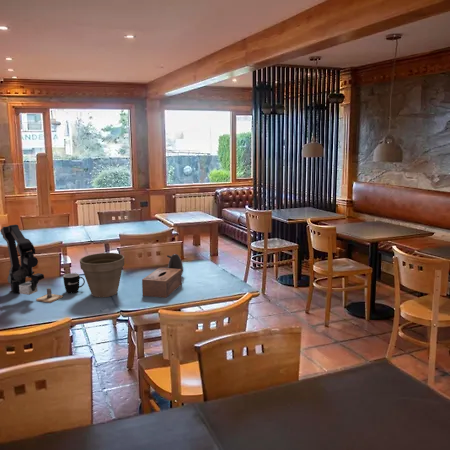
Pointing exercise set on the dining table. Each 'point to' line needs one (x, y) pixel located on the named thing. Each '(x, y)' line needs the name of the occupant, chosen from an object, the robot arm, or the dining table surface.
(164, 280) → the tissue box cover
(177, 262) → the pump dispenser
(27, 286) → the collar
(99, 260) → the plant pot
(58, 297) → the shaft block
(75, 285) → the mug
